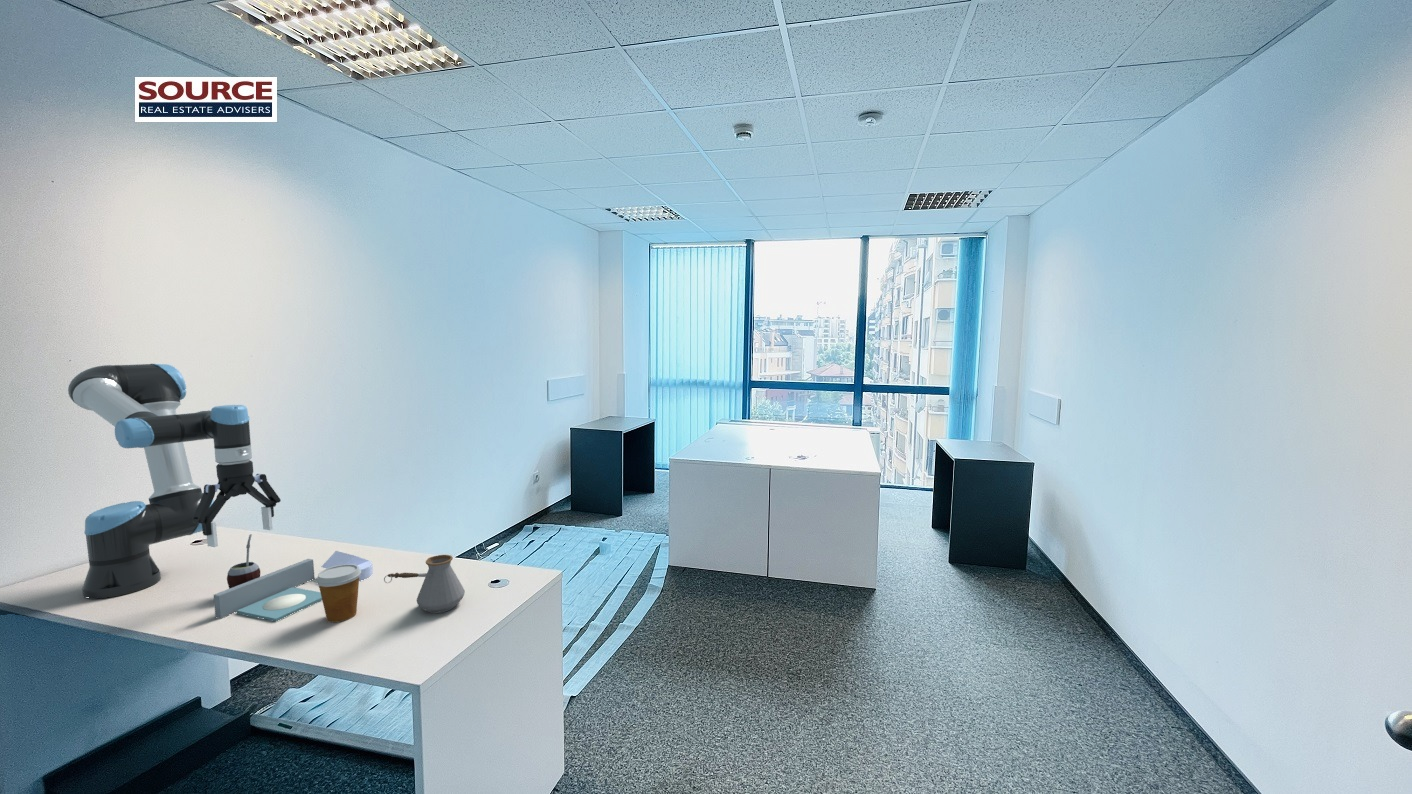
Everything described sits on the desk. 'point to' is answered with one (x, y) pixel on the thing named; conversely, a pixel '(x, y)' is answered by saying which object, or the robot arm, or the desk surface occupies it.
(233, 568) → the mate gourd
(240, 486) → the robot arm
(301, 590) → the mat
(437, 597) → the coffee pot
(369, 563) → the wedge on round base
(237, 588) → the low wall
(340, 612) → the disposable coffee cup
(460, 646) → the desk surface
